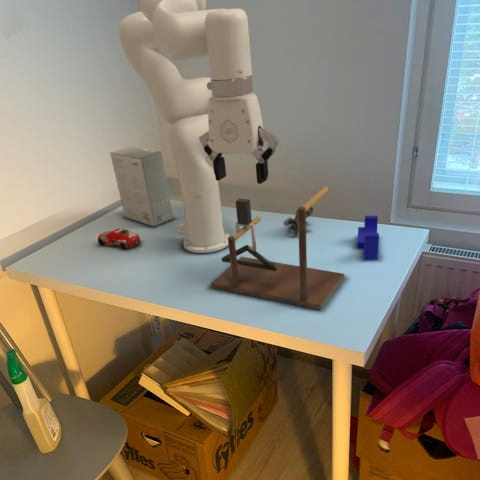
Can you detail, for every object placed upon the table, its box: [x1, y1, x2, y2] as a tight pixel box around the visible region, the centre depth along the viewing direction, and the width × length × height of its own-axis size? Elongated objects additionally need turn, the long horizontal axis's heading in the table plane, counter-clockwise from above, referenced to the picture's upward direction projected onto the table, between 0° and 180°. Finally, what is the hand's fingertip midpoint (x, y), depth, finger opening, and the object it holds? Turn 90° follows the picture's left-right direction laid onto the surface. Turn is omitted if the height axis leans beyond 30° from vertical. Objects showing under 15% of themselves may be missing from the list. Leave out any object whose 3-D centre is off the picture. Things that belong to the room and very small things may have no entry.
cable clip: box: [357, 215, 380, 261], centre depth 118 cm, size 12×4×6 cm, turn 168°
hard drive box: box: [109, 146, 174, 227], centre depth 145 cm, size 16×8×20 cm, turn 46°
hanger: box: [221, 198, 277, 271], centre depth 106 cm, size 14×2×15 cm, turn 60°
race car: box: [97, 228, 141, 250], centre depth 135 cm, size 13×5×4 cm, turn 60°
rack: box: [210, 186, 345, 311], centre depth 103 cm, size 26×14×21 cm, turn 60°
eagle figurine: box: [283, 206, 314, 237], centre depth 130 cm, size 8×7×9 cm
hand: (241, 180), depth 100 cm, fingers open, 9 cm apart
